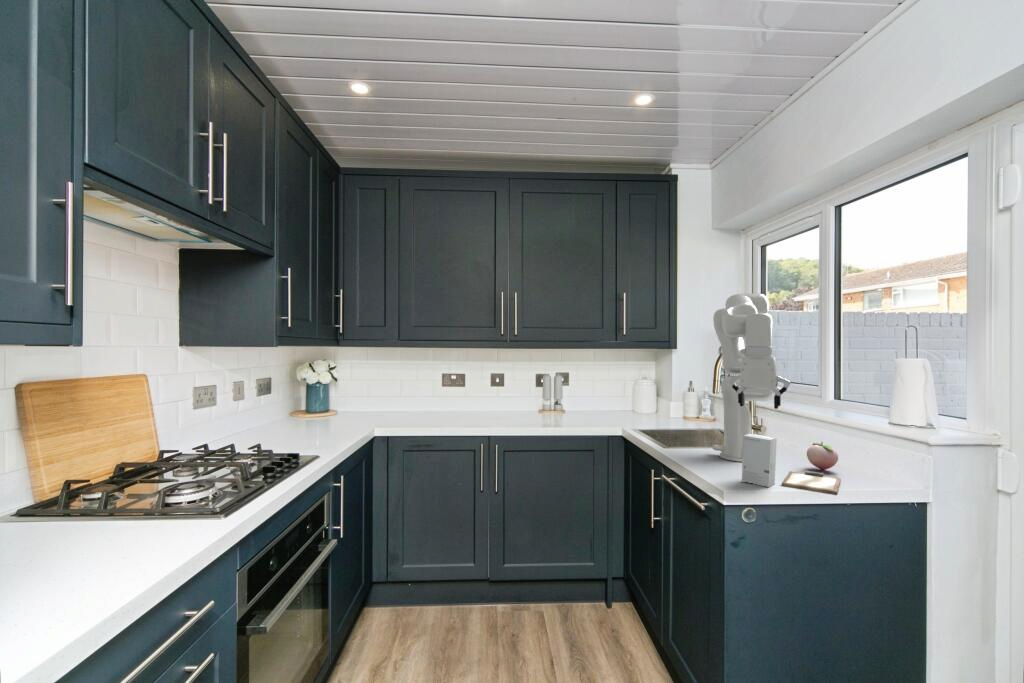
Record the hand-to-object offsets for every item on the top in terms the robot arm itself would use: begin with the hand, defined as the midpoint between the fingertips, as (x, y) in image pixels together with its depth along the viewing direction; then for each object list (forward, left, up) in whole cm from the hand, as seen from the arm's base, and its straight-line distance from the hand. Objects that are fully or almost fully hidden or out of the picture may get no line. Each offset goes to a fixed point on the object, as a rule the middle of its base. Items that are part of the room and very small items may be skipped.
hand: (758, 407), depth 146 cm
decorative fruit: (+14, +30, -24) cm, 41 cm away
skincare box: (0, 0, -24) cm, 24 cm away
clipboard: (+13, +10, -24) cm, 29 cm away
